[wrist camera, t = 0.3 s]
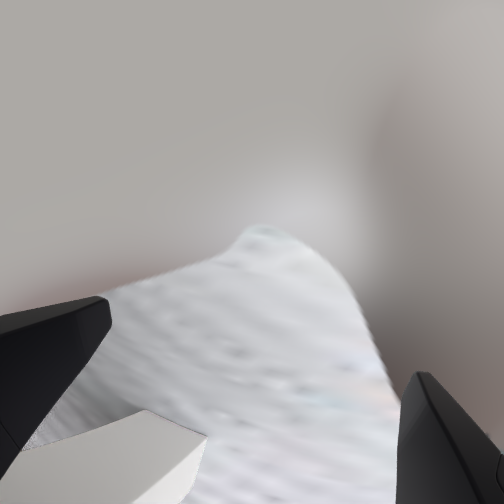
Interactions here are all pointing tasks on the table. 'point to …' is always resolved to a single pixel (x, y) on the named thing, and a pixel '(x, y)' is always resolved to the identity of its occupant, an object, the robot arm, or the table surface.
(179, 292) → the table surface
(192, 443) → the milk
